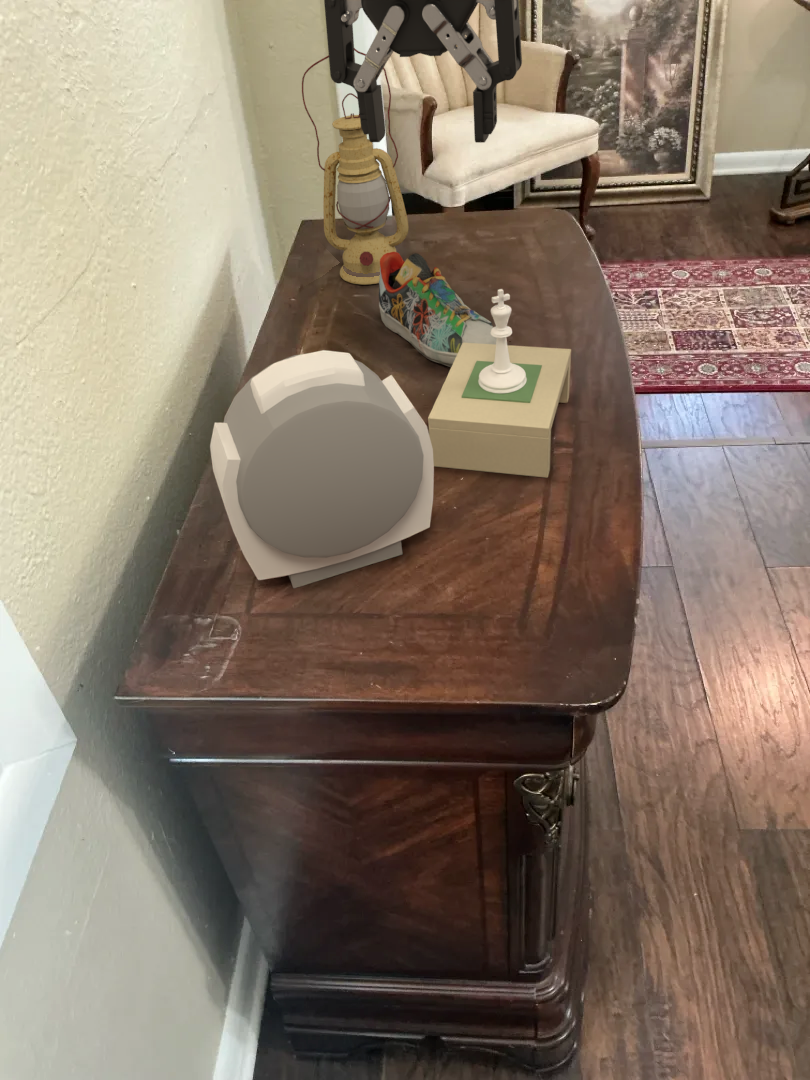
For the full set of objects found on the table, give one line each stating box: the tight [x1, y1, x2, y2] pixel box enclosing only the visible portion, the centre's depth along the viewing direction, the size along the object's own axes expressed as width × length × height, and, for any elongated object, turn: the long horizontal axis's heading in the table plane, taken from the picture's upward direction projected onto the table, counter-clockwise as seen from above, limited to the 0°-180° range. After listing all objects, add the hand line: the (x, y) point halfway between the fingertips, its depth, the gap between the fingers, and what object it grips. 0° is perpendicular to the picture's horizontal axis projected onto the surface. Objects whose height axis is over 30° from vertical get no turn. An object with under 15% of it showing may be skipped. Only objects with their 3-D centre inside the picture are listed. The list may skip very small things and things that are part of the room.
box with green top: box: [427, 343, 572, 479], centre depth 91 cm, size 12×15×6 cm
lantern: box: [301, 47, 409, 285], centre depth 115 cm, size 12×10×30 cm
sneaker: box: [378, 251, 497, 368], centre depth 105 cm, size 8×21×10 cm, turn 38°
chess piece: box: [478, 288, 527, 394], centre depth 86 cm, size 5×5×10 cm
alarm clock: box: [209, 349, 435, 589], centre depth 74 cm, size 18×8×20 cm, turn 110°
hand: (429, 139), depth 68 cm, fingers open, 8 cm apart
